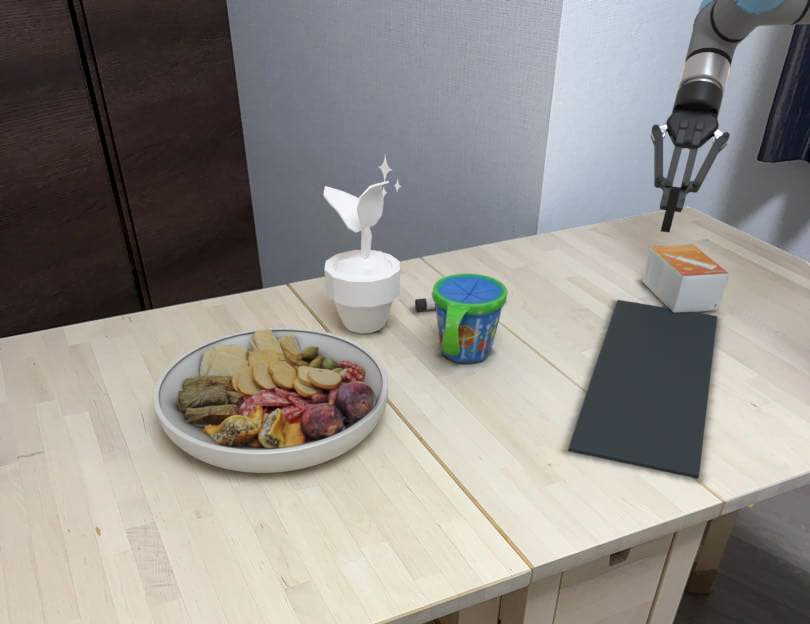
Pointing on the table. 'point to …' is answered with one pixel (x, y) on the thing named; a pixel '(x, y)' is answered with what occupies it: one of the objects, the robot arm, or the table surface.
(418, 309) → the marker
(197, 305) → the table surface
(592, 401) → the slate mat
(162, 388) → the bowl
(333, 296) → the potted plant
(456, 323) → the snack cup
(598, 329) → the table surface
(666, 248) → the small box
